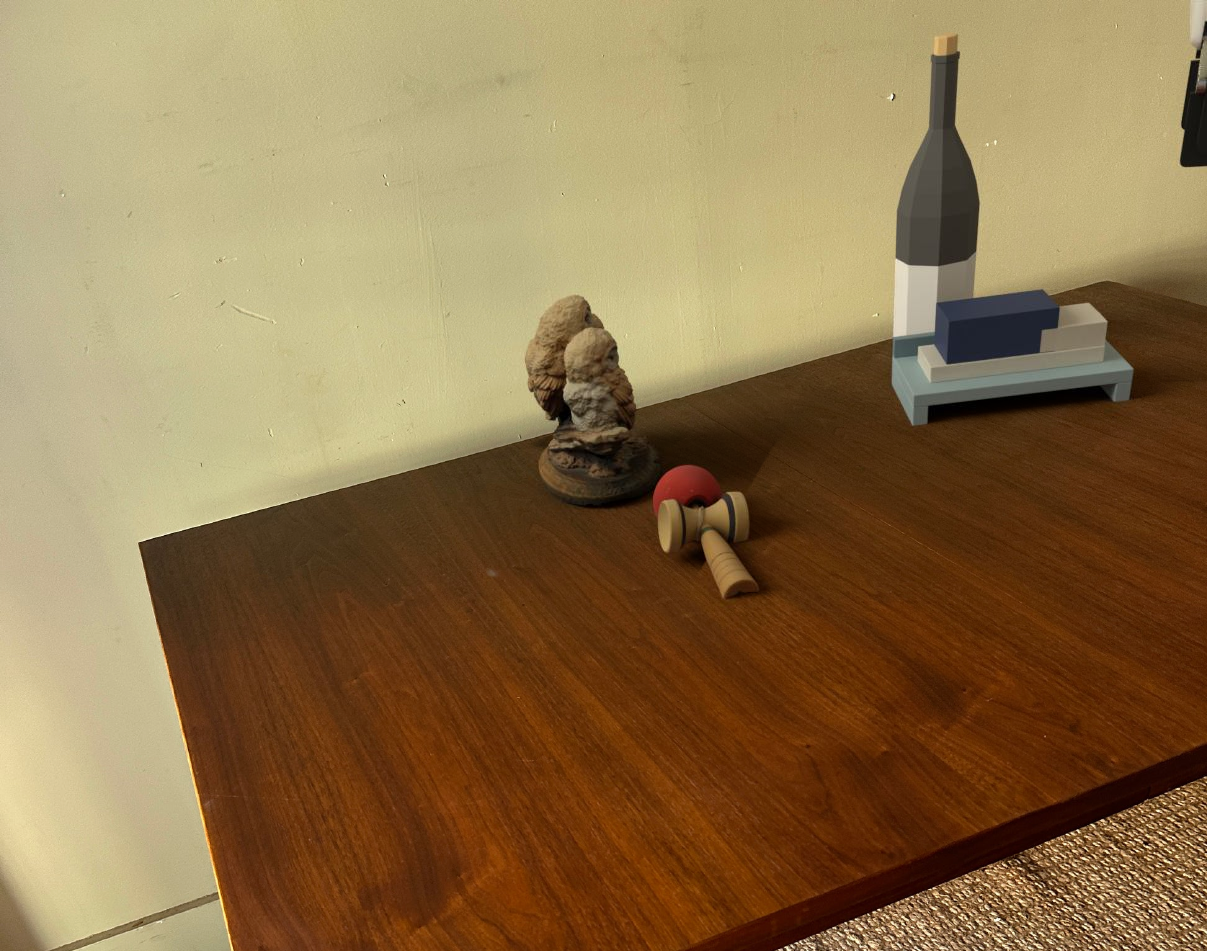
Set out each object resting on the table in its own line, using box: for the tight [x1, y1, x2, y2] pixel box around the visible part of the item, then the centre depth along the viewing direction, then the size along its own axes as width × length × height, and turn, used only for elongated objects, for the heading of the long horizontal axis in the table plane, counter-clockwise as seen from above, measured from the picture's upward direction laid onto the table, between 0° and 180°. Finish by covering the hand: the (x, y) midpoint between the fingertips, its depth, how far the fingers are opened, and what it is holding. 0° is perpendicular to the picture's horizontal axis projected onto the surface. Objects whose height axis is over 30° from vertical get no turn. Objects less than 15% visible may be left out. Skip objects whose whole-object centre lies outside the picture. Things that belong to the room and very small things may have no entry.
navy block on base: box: [918, 288, 1109, 383], centre depth 113 cm, size 16×6×6 cm, turn 90°
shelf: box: [891, 310, 1135, 426], centre depth 116 cm, size 20×11×6 cm, turn 90°
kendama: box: [652, 464, 760, 600], centre depth 99 cm, size 8×6×18 cm
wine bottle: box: [892, 32, 981, 338], centre depth 120 cm, size 8×8×30 cm
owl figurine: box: [524, 294, 662, 507], centre depth 112 cm, size 18×12×17 cm, turn 14°
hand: (1206, 145), depth 77 cm, fingers open, 9 cm apart
